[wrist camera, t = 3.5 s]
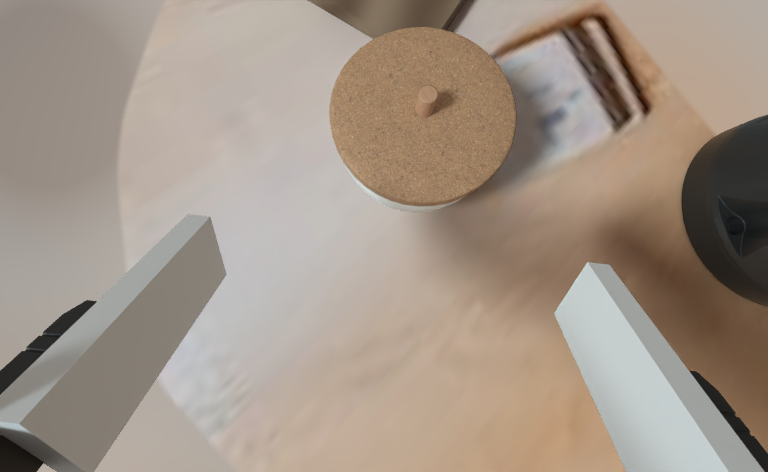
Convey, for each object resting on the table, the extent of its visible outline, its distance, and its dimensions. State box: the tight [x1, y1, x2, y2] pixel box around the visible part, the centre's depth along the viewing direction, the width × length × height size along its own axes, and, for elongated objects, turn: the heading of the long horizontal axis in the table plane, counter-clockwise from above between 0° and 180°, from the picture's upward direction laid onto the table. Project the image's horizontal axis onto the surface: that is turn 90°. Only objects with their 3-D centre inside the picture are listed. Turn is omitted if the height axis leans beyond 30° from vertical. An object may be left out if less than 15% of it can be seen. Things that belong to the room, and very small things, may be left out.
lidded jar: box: [330, 27, 516, 212], centre depth 21 cm, size 11×11×9 cm
